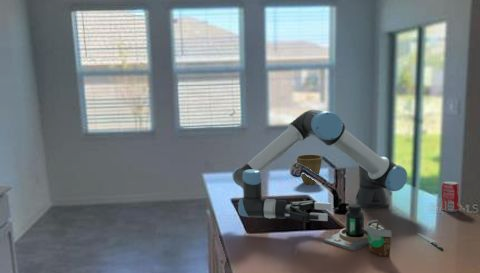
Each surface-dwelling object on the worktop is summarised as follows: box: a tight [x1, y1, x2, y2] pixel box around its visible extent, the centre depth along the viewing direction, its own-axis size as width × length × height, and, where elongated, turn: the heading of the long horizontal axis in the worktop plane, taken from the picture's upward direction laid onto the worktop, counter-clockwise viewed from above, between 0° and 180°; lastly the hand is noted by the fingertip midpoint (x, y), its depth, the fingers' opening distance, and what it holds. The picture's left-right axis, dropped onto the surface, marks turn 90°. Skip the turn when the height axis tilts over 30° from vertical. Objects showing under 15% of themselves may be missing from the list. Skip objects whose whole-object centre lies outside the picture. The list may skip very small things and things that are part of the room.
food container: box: [365, 219, 393, 258], centre depth 149 cm, size 12×6×10 cm, turn 5°
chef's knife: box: [416, 232, 444, 251], centre depth 159 cm, size 19×1×3 cm
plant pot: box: [295, 154, 323, 185], centre depth 250 cm, size 15×15×16 cm
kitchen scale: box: [323, 227, 369, 252], centre depth 162 cm, size 13×17×2 cm
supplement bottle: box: [345, 203, 365, 238], centre depth 163 cm, size 7×7×12 cm
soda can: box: [441, 180, 460, 213], centre depth 192 cm, size 7×7×13 cm
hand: (329, 211), depth 165 cm, fingers open, 13 cm apart
